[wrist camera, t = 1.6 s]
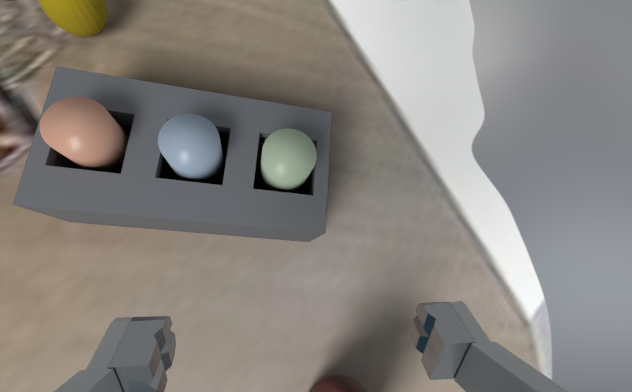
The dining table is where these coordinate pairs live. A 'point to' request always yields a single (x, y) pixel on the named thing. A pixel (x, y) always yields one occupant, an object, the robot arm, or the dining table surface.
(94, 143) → the terracotta button
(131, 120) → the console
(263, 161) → the sage button
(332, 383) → the soda can
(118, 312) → the dining table surface
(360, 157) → the dining table surface
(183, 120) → the slate button
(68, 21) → the lemon
